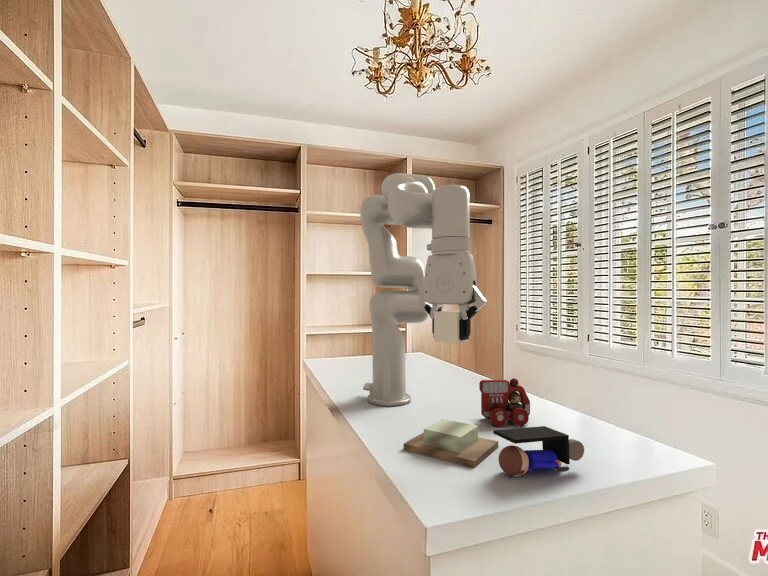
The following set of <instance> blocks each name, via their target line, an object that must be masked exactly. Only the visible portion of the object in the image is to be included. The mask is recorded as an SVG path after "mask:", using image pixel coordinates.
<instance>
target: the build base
mask: <svg viewBox="0 0 768 576" xmlns="http://www.w3.org/2000/svg"><path fill="white" fill-rule="evenodd" d="M497 449H499V441H498V440H494V439H489V438H485V437H479V425H475V424H471V423H465V422H460V421H455V420H449V419H445V418H444V419H443V418H441V419H440V420H438V421H436V422H434V423H432V424H430V425H428V426H426V427H425V428H423V432H422V433H420V434H418V435H416V436H415V437H413V438H410V439H409V440H407V441H405V442H404V443H403V450H404V451H406V452H407V451H408V452H412V453H416V454H419V455H424V456H427V457H431V458H434V457H435V459H440V460H443V461H447V462H451V463H454V464H455V463H456V464H458V465H463V466H466V467H469V468H473V469H474V468H476V467H478V465H480V464H481V463H482V462H483V461H484V460H485V459H487V458H488V457H489V456H490V455H491V454H493V452H495V451H496V450H497Z"/></svg>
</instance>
